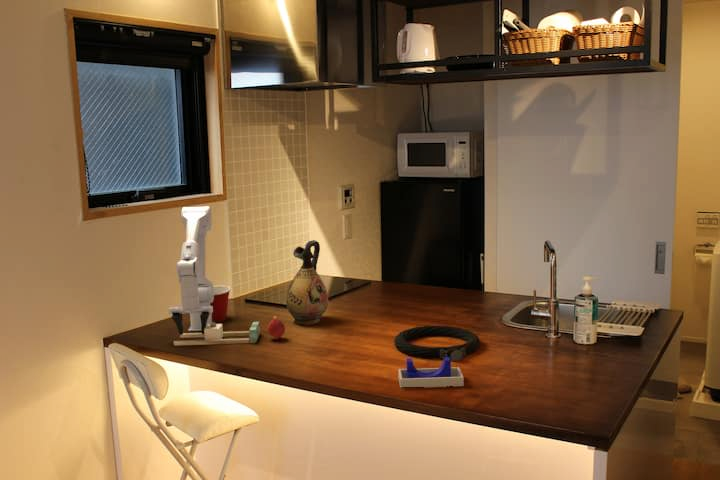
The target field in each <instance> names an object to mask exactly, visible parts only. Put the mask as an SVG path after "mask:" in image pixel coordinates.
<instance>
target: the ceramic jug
mask: <svg viewBox="0 0 720 480" xmlns="http://www.w3.org/2000/svg"><path fill="white" fill-rule="evenodd" d="M312 247H313V251H312V250H311V248H312ZM320 248H321V246H320V243H319V241H317V240H314V239H313V240H308V242H306V244H305V247H302V246H299V245H298V246H296V247H295V249H294V250H293V256H294V258H297V259H300V260H302V265H301V266H300V268H299V270H298V272H297V273H296V274H295V276H294V277H293V279H292V281H291V282H290V285H289V287H288V289H287V293H286V299H285V302H286V308H287V311H288V312H289V314H290V315H291V316H292V318H293V319H294V323H295V324H297V325H306V326H307V325H314V324H318V323H319V322H320V320H321V318H322V316H323V315H324V313H325V312H326V310H327V309H328V307H329V293H328V291H327V287H326V284H325V283H324V281H323V279H322V278H321V276H320V275H319V274H318V272H317V264H318V261H319V260H318V259H319V256H320V252H321V251H320V250H321V249H320Z"/></svg>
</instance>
